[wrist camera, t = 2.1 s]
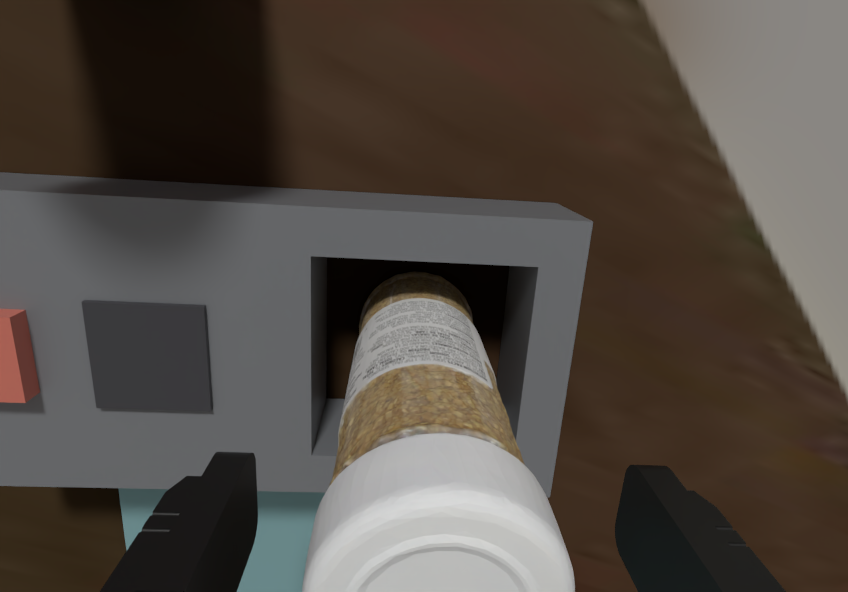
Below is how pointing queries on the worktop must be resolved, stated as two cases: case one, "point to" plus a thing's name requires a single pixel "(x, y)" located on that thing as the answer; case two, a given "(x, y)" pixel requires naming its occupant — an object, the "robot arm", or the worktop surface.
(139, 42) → the worktop surface
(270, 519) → the mat
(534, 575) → the sprinkles bottle
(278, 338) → the power strip
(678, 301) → the worktop surface
